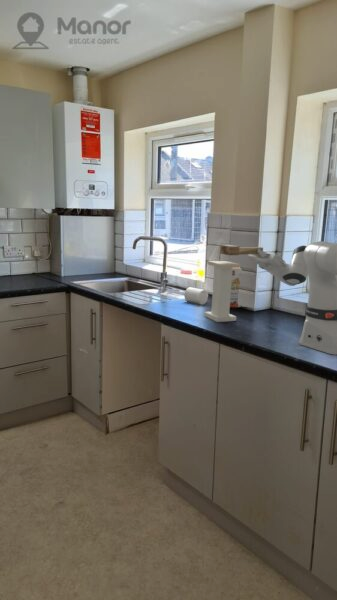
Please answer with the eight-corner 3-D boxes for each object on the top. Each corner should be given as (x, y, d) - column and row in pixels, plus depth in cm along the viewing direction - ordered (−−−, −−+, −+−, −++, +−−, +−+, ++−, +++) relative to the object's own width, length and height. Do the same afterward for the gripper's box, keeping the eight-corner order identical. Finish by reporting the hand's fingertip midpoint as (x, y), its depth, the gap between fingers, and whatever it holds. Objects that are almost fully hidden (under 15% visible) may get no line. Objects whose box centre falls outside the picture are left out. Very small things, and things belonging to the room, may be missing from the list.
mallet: (266, 254, 210) (266, 245, 209) (229, 255, 202) (229, 246, 201) (255, 252, 217) (256, 244, 216) (220, 253, 209) (220, 244, 208)
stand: (235, 320, 207) (240, 264, 202) (217, 322, 202) (221, 264, 198) (222, 314, 217) (226, 261, 212) (204, 316, 213) (207, 261, 208)
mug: (198, 305, 238) (199, 290, 236) (183, 302, 244) (184, 287, 243) (211, 302, 246) (212, 288, 245) (197, 299, 253) (198, 285, 251)
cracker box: (222, 308, 234) (224, 267, 230) (217, 305, 239) (220, 266, 235) (246, 307, 237) (250, 268, 233) (242, 305, 243) (245, 266, 239)
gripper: (284, 272, 209) (264, 257, 202) (258, 267, 227) (239, 253, 220) (291, 261, 209) (271, 245, 203) (264, 256, 227) (245, 242, 221)
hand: (254, 249), depth 212 cm, fingers closed on mallet, 3 cm apart
